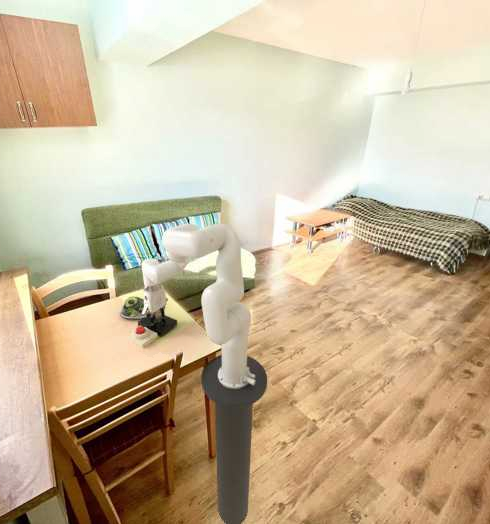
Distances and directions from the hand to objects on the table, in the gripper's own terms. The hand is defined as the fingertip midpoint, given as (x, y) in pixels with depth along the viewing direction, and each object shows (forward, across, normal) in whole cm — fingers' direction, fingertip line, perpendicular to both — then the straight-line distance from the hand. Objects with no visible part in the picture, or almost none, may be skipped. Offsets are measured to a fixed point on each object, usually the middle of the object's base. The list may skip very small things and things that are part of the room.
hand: (157, 319), depth 131 cm
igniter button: (0, -11, -1) cm, 11 cm away
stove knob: (+1, 0, 0) cm, 1 cm away
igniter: (+3, -11, -1) cm, 12 cm away
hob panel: (+3, 0, 0) cm, 3 cm away
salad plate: (+3, +4, +18) cm, 19 cm away
